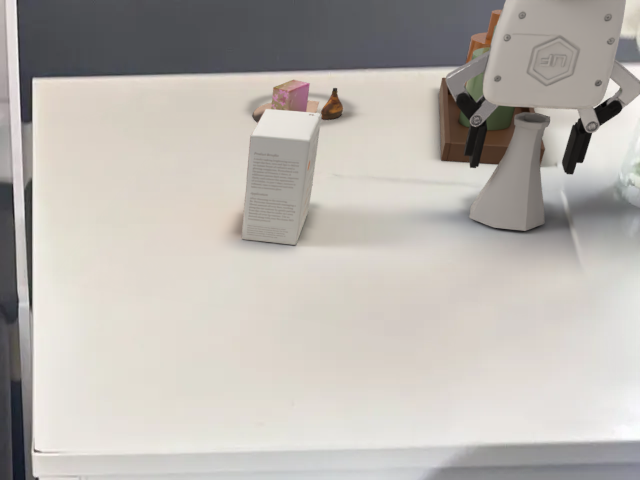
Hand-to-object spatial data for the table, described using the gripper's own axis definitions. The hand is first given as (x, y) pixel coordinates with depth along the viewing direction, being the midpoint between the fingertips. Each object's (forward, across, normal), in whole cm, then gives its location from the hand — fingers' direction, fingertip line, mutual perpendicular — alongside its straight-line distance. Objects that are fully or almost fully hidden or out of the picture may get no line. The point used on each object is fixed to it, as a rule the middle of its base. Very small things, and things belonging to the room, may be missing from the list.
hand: (519, 165), depth 92 cm
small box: (+6, -22, -7) cm, 24 cm away
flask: (+6, 0, 0) cm, 6 cm away
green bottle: (+5, -1, +28) cm, 28 cm away
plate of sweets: (+6, -23, +28) cm, 37 cm away
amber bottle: (+5, -1, +34) cm, 35 cm away
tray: (+5, -1, +26) cm, 27 cm away
